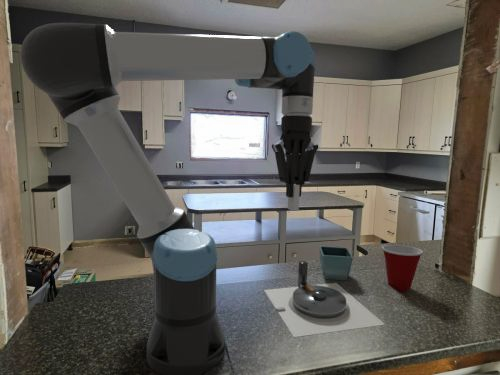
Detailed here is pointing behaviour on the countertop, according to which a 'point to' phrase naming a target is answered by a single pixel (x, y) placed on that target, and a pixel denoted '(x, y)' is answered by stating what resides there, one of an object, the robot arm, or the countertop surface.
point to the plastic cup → (401, 265)
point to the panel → (309, 325)
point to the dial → (317, 298)
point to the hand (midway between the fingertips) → (293, 209)
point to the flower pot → (335, 262)
